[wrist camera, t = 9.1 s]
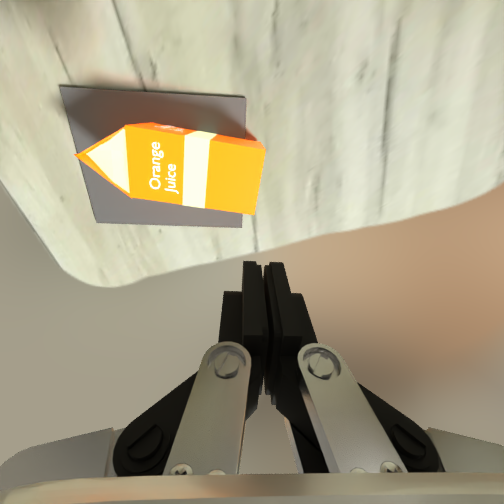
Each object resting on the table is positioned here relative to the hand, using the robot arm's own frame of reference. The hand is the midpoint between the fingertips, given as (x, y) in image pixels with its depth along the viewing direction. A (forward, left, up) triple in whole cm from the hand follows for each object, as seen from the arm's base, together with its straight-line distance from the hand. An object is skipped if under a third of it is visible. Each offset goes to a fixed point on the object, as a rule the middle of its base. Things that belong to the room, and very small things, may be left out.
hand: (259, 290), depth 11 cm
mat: (0, -12, -29) cm, 32 cm away
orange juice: (0, +1, -24) cm, 24 cm away
